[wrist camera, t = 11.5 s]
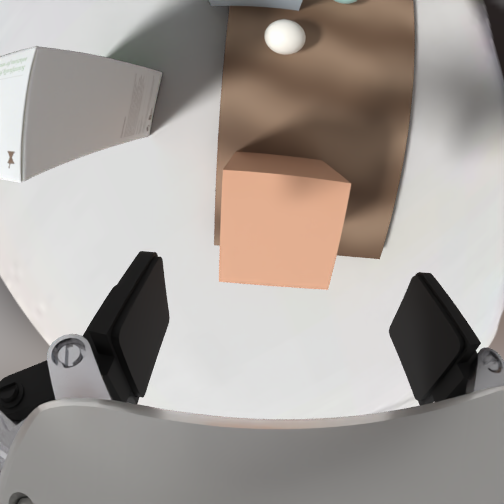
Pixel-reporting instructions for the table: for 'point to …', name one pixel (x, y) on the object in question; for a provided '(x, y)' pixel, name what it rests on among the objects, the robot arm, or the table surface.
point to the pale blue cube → (260, 3)
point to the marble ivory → (285, 37)
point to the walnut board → (325, 102)
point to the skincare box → (68, 107)
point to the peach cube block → (280, 220)
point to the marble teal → (345, 1)
